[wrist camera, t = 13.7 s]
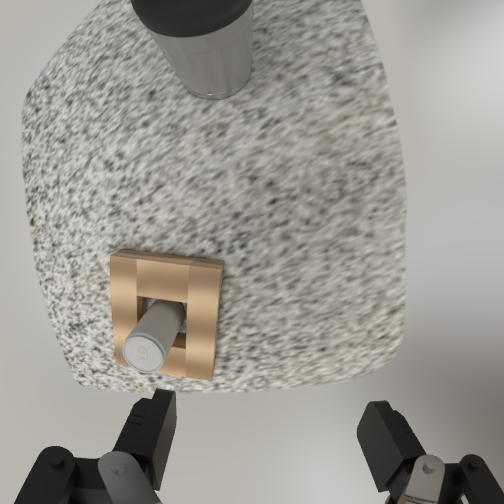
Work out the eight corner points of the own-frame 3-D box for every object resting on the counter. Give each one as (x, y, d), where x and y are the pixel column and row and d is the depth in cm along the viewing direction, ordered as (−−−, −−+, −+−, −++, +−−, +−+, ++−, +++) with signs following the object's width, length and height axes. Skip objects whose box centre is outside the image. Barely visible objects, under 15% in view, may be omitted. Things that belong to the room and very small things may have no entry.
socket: (122, 248, 38) (110, 255, 34) (223, 260, 38) (220, 269, 34) (125, 350, 41) (116, 363, 37) (214, 365, 41) (212, 380, 38)
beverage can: (152, 323, 40) (123, 369, 28) (152, 292, 39) (119, 332, 27) (185, 328, 40) (165, 377, 28) (186, 296, 39) (163, 339, 27)
